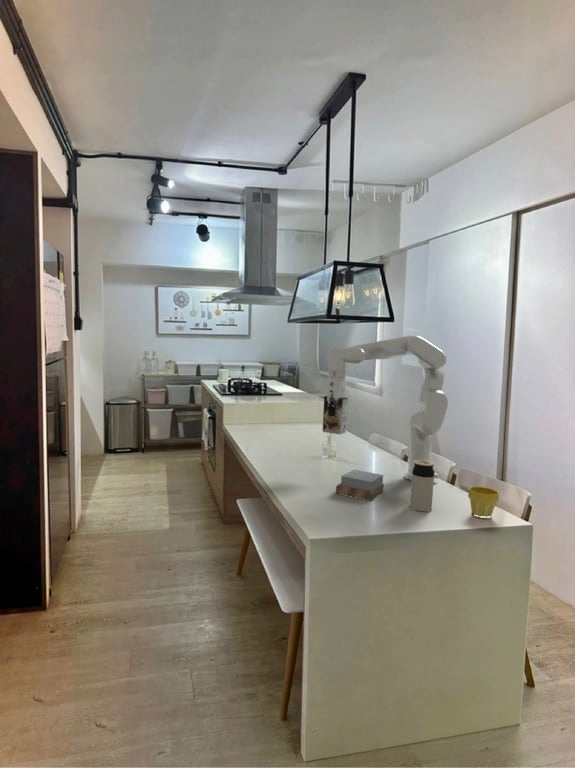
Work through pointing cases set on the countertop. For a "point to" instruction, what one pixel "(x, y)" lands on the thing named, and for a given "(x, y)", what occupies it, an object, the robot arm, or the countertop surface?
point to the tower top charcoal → (362, 480)
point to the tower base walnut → (359, 492)
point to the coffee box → (335, 417)
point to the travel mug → (422, 485)
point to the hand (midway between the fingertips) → (335, 414)
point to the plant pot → (482, 500)
